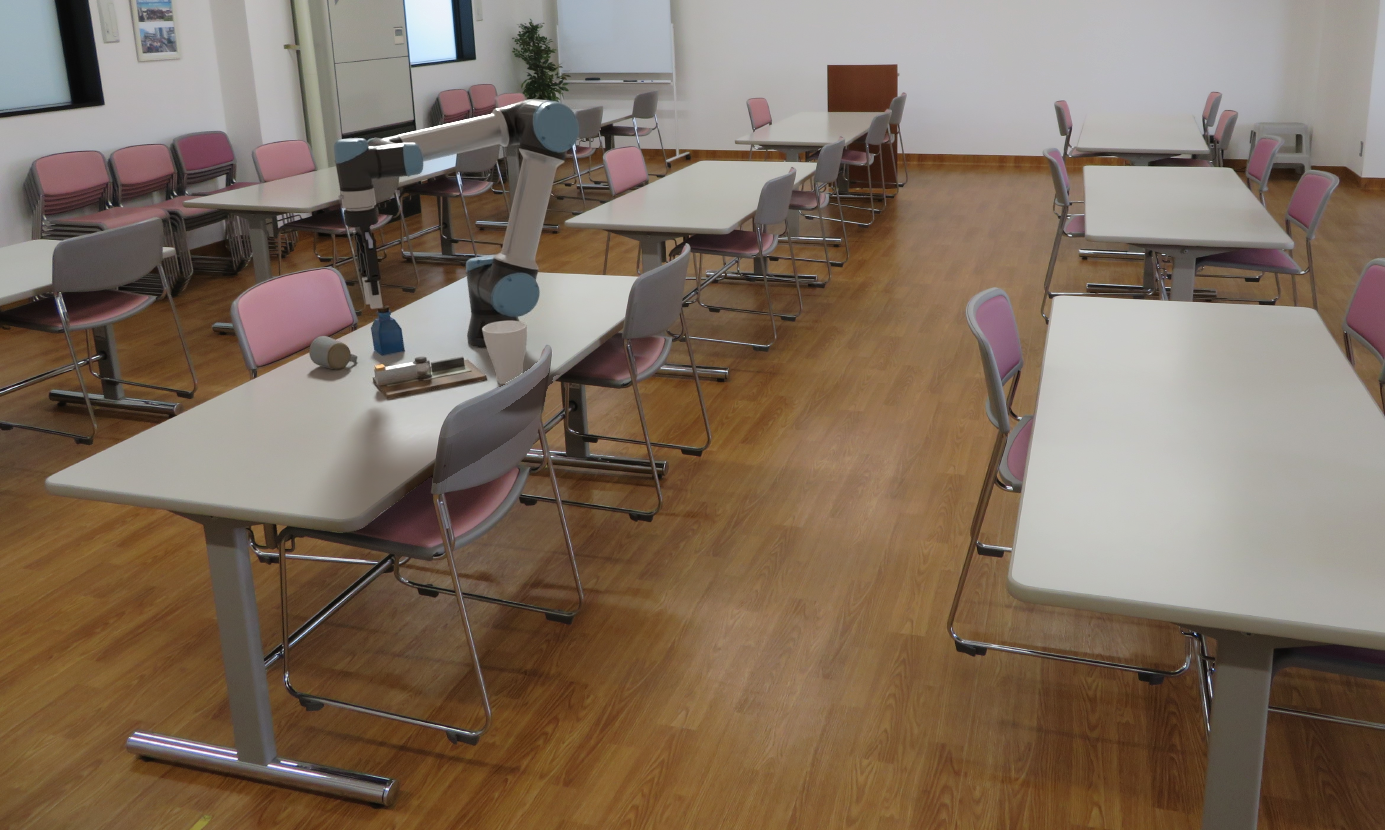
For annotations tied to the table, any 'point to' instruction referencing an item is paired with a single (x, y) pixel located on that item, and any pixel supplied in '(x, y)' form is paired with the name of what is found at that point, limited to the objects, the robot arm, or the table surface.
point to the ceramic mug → (330, 353)
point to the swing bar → (401, 372)
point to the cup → (506, 348)
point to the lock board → (436, 377)
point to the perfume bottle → (386, 333)
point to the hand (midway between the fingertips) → (374, 305)
